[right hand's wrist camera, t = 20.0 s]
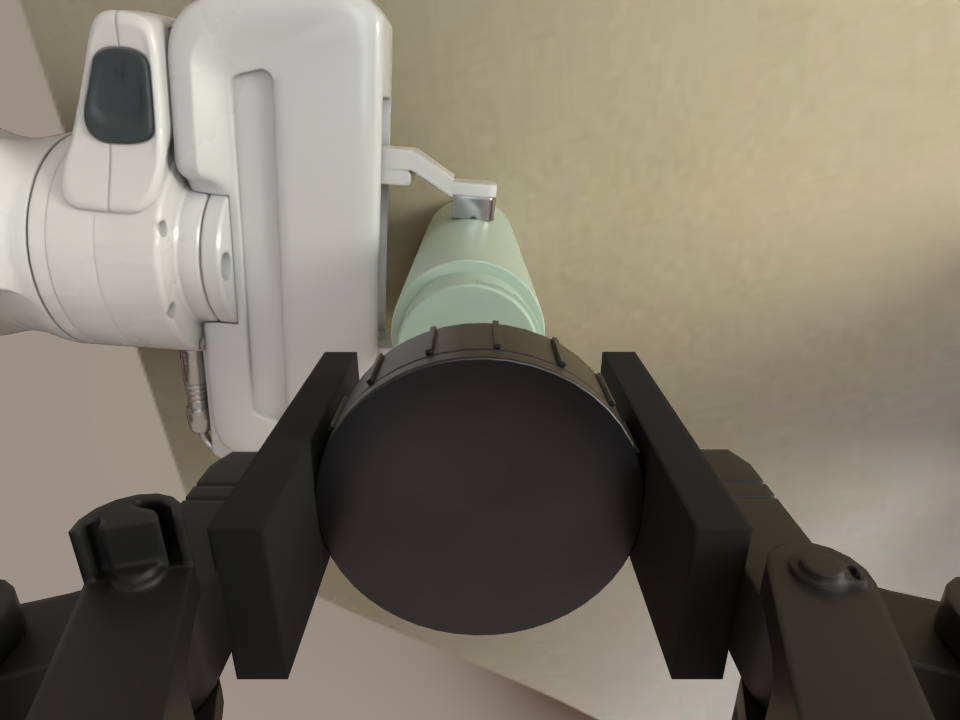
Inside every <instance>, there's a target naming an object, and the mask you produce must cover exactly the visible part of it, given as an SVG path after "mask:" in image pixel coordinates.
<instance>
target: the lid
mask: <svg viewBox="0 0 960 720" xmlns="http://www.w3.org/2000/svg"><path fill="white" fill-rule="evenodd" d="M615 405H616V403H615V401H614V399H613V397H612V395H611V393H610V390H609V388H608V386H607V384H606V382H605V380H604V378H603V376H602V375H601V374H600V373H598V374H597V375H596V374H595V373H594V372H593V370H592V369H591V368H590V367H589V366H588V365H587V364H586V363H584V362H583V361H582V360H581V359H580V358H579V357H578V356H577V355H575V354H574V353H572V352H571V351H570V350H568V349H567V348H565V347H564V346H562V345H561V344H560V343H559V341H558V339H557V338H555V337H553V338H552V339H549V338H547V337H545V336H543V335H540V334H537V333H534V332H532V331H529V330H526V329H522V328H518V327H513V326H509V325H502V324H499V321H496V320H493V323H466V324H458V325H452V326H446V327H442V328H438V329H437V328H436V326H433V327H430V331H428V332H425V333H422V334H420V335H418V336H415V337H413V338H411V339H409V340H406V341H405V342H403V343H401V344H400V345H398V346H396V347H395V348H393V349H391V350H390V351H389V352H387V353H386V354H385V355H383V354H382V353H380V354H379V355H377V357H376V360H375V362H374V364H373V365H372V366H371V367H370V368H369V369H368V371H367V372H366V373H365V374H364V375H363V376H362V377H361V379H360V380H359V382H358V383H357V384H356V386H355V387H354V389H353V390H352V392H351V394H350V396H349V397H347V396H344V398H343V400H342V402H341V404H340V406H339V408H338V410H337V412H336V414H335V416H334V418H333V420H332V422H331V424H330V426H329V428H328V430H330V431H332V434H331V436H330V438H329V440H328V442H327V444H326V446H325V448H324V451H323V454H322V457H321V460H320V463H319V466H318V470H317V477H316V483H315V499H316V508H317V516H318V524H319V528H320V531H321V534H322V537H323V541H324V543H325V545H326V547H327V549H328V551H329V553H330V555H331V557H332V559H333V560H334V562H335V563H336V565H337V566H338V567H339V569H340V570H341V572H342V573H343V574H344V575H345V577H346V578H347V579H348V580H349V581H350V582H351V583H352V584H353V586H354V587H356V588H357V589H358V590H359V591H360V592H361V593H362V594H364V595H365V596H366V597H367V598H368V599H370V600H371V601H372V602H374V603H375V604H377V605H378V606H380V607H381V608H383V609H384V610H386V611H388V612H390V613H392V614H394V615H396V616H397V617H399V618H402V619H404V620H407V621H409V622H411V623H414V624H416V625H419V626H423V627H426V628H430V629H433V630H437V631H443V632H449V633H454V634H466V635H496V634H504V633H512V632H517V631H522V630H526V629H530V628H534V627H537V626H540V625H543V624H546V623H549V622H551V621H554V620H556V619H558V618H560V617H562V616H564V615H566V614H569V613H570V612H572V611H573V610H575V609H577V608H578V607H580V606H582V605H583V604H585V603H586V602H587V601H589V600H590V599H591V598H593V597H594V596H595V595H596V594H598V593H599V592H600V591H601V590H602V589H603V588H604V587H605V586H606V585H607V584H608V583H609V582H610V581H611V580H612V579H613V578H614V576H615V575H616V574H617V573H618V571H619V570H620V569H621V567H622V566H623V565H624V563H625V561H626V560H627V558H628V556H629V554H630V553H631V551H632V549H633V547H634V544H635V542H636V539H637V537H638V534H639V532H640V527H641V521H642V514H643V505H644V496H645V486H644V476H643V472H642V467H641V463H640V459H639V457H641V454H640V451H639V449H638V447H637V445H636V443H635V441H634V439H633V437H632V434H631V432H630V430H629V428H628V426H627V424H626V422H625V420H623V421H622V419H621V417H620V414H619V412H618V410H617V408H616V406H615Z"/></svg>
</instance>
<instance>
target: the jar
mask: <svg viewBox="0 0 960 720" xmlns="http://www.w3.org/2000/svg"><path fill="white" fill-rule="evenodd" d="M452 205H453V201H451V202H449V203H447V204H446V205H444V206H443V207H441V208H440V209H439V210H438V211H437V212H436V213H435V215H434V216H433V217H432V219H431V221H430V223H429V225H428V227H427V230H426V232H425V235H424V237H423V240H422V242H421V245H420V247H419V250H418V252H417V255H416V257H415V260H414V262H413V265H412V267H411V269H410V272H409V274H408V277H407V279H406V282H405V284H404V287H403V289H402V292H401V294H400V297H399V299H398V302H397V304H396V307H395V310H394V313H393V317H392V323H391V340H392V347H393V348H395V347H396V346H398V345H400V344H401V343H403V342H405V341H406V340H409V339H411V338H413V337H415V336H418V335H420V334H422V333H425V332H428V331H430V327H433V326H436V328H437V329H438V328H442V327H446V326H452V325H458V324H466V323H493V320H496V321H499V324H502V325H509V326H513V327H518V328H522V329H526V330H529V331H532V332H534V333H537V334H540V335H543V336H545V324H544V318H543V314H542V311H541V307H540V305H539V302H538V299H537V296H536V293H535V291H534V288H533V285H532V282H531V280H530V277H529V274H528V271H527V269H526V266H525V263H524V260H523V257H522V255H521V252H520V249H519V246H518V244H517V241H516V238H515V235H514V233H513V230H512V227H511V225H510V223H509V220H508V219H507V217H506V216H505V215H504V213H503V212H502V211H501V210H500V209H499V208H498V207H496V206H495V213H494V221H481V220H477V219H476V218H475V217H474V216H473V217H471V218H470V219H455V218H452Z"/></svg>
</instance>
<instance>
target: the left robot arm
mask: <svg viewBox="0 0 960 720" xmlns="http://www.w3.org/2000/svg"><path fill="white" fill-rule="evenodd" d="M392 40H393V32H392V26H391V24H390V22H389V21H388V19H387V18H386V16H385V15H384V13H383V12H382V11H381V9H380V8H379V7H378V6H377V5H376V4H375V3H374V2H373V1H372V0H195V1H193V2H192V3H190V4H189V5H187V6H186V7H185V8H184V9H183V10H182V11H181V12H180V14H179V15H178V16H177V18H176V19H175V18H172V17H168V16H165V15H161V14H156V13H150V12H143V11H134V10H107V11H103V12H101V13H99V14H98V15H97V16H96V18H95V19H94V21H93V23H92V26H91V29H90V33H89V38H88V44H87V51H86V58H85V65H84V71H83V78H82V84H81V90H80V96H79V102H78V107H77V112H76V117H75V122H74V127H73V131H72V132H70V133H64V134H59V135H54V136H49V137H42V138H29V137H24V136H20V135H17V134H13V133H11V132H9V131H6V130H3V129H1V128H0V335H7V334H13V333H17V332H21V331H28V330H38V331H44V332H48V333H51V334H53V335H56V336H59V337H61V338H64V339H67V340H71V341H75V342H81V343H91V344H105V345H118V346H132V347H148V348H161V349H175V350H180V359H181V367H182V375H183V380H184V384H185V387H186V392H187V397H188V398H187V399H188V405H187V419H188V423H189V426H190V429H191V431H192V432H194V433H198V434H199V436H200V438H201V440H202V441H203V443H204V444H205V445H206V446H207V447H208V448H209V449H210V450H211V451H213V453H214V454H215V455H216V456H218V457H220V458H223V457H225V456H226V455H228V454H229V453H231V452H258V451H259V449H260V448H261V446H262V445H263V443H264V442H265V440H266V439H267V437H268V436H269V434H270V433H271V431H272V430H273V428H274V427H275V425H276V424H277V422H278V421H279V420H280V418H281V417H282V415H283V414H284V412H285V411H286V409H287V408H288V406H289V405H290V403H291V402H292V400H293V399H294V397H295V396H296V394H297V393H298V391H299V390H300V388H301V387H302V385H303V384H304V382H305V381H306V379H307V378H308V376H309V375H310V373H311V372H312V370H313V369H314V367H315V366H316V364H317V363H318V361H319V360H320V358H321V357H322V355H323V354H324V352H357V357H358V369H359V380H360V379H361V377H362V376H363V375H364V374H365V373H366V372H367V371H368V369H369V368H370V367H371V366H372V365H373V364H374V362H375V360H376V357H377V355H379V354H380V353H382V354H383V355H385V354H386V353H387V352H389V351H390V350H391V349H393V347H392V340H391V332H385V329H386V288H387V247H388V206H389V185H402V186H408V185H409V184H410V183H411V182H412V181H413V180H414V179H415V174H417V175H418V176H420V177H421V178H423V179H424V180H426V181H427V182H429V183H430V184H432V185H433V186H435V187H436V188H438V189H439V190H440V191H442V192H443V193H445V194H446V195H448V196H449V197H451V198H452V196H453V205H452V218H455V219H470V218H471V217H473V216H474V217H475V218H476V219H477V220H481V221H494V213H495V204H496V193H497V183H496V182H492V181H485V180H473V179H462V178H455V175H454V174H453V173H451V172H450V171H449V170H447V169H446V168H444V167H443V166H442V165H440V164H439V163H437V162H436V161H435V160H433V159H432V158H430V157H429V156H428V155H426V154H425V153H423V152H422V151H421V150H419V149H418V148H415V147H403V146H391V145H390V124H391V83H392ZM210 430H211V437H210V436H209V434H208V431H210Z"/></svg>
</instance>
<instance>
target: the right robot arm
mask: <svg viewBox="0 0 960 720" xmlns="http://www.w3.org/2000/svg"><path fill="white" fill-rule="evenodd" d="M601 375H602V376H603V378H604V380H605V382H606V384H607V386H608V388H609V390H610V393H611V395H612V397H613V399H614V401H615V403H616V405H615V406H616V408H617V410H618V412H619V414H620V417H621V419H622V421H623V420H625V422H626V424H627V426H628V428H629V430H630V432H631V434H632V437H633V439H634V441H635V443H636V445H637V447H638V449H639V451H640V454H641V457H639V459H640V463H641V467H642V472H643V476H644V486H645V496H644V505H643V514H642V521H641V527H640V532H639V534H638V537H637V539H636V542H635V544H634V547H633V549H632V551H631V553H630V554H629V556H630V559H631V562H632V565H633V568H634V570H635V573H636V576H637V579H638V582H639V585H640V588H641V591H642V594H643V597H644V600H645V602H646V605H647V608H648V611H649V614H650V617H651V620H652V623H653V626H654V629H655V632H656V635H657V637H658V640H659V643H660V646H661V649H662V652H663V655H664V658H665V661H666V664H667V667H668V669H669V672H670V675H671V678H672V679H723V674H724V669H725V664H726V659H727V654H728V650H729V652H730V654H731V656H732V658H733V660H734V662H735V664H736V666H737V669H738V671H739V673H740V675H741V679H740V684H739V688H738V693H737V697H736V702H735V706H734V711H733V716H732V720H960V577H956V578H954V579H953V580H952V581H950V582H949V583H948V584H947V585H946V587H945V590H944V593H943V596H942V598H941V601H935V600H930V599H926V598H921V597H916V596H912V595H907V594H903V593H898V592H893V591H889V590H885V589H882V588H878V587H877V585H876V583H875V581H874V580H873V579H872V577H871V576H870V574H869V573H868V572H867V570H866V569H864V568H863V567H862V566H861V565H859V564H858V563H857V562H855V561H854V560H853V559H851V558H850V557H848V556H846V555H844V554H842V553H840V552H838V551H836V550H834V549H831V548H828V547H825V546H821V545H817V544H814V543H812V542H811V541H810V540H809V539H808V537H807V536H806V535H805V534H804V532H803V531H802V530H801V528H800V527H799V526H798V525H797V523H796V522H795V521H794V520H793V518H792V517H791V516H790V514H789V513H788V512H787V511H786V509H785V508H784V507H783V506H782V504H781V503H780V502H779V500H778V499H775V498H774V494H773V493H772V492H771V490H770V489H769V488H768V486H767V485H766V484H763V480H762V479H761V478H760V476H759V475H758V474H757V472H756V471H755V470H754V469H753V467H752V466H751V465H750V464H749V463H747V462H746V461H744V460H743V459H741V458H740V457H738V456H737V455H735V454H734V453H732V452H731V451H729V450H700V448H699V447H698V445H697V444H696V443H695V441H694V440H693V438H692V437H691V435H690V434H689V432H688V431H687V429H686V428H685V426H684V425H683V423H682V422H681V420H680V419H679V417H678V416H677V414H676V413H675V411H674V410H673V408H672V407H671V405H670V404H669V402H668V401H667V399H666V398H665V396H664V395H663V393H662V392H661V390H660V389H659V387H658V386H657V384H656V383H655V381H654V380H653V378H652V377H651V375H650V374H649V372H648V371H647V369H646V368H645V366H644V365H643V363H642V362H641V360H640V359H639V357H638V356H637V354H636V353H635V352H602V364H601ZM358 382H359V369H358V357H357V352H324V354H323V355H322V357H321V358H320V360H319V361H318V363H317V364H316V366H315V367H314V369H313V370H312V372H311V373H310V375H309V376H308V378H307V379H306V381H305V382H304V384H303V385H302V387H301V388H300V390H299V391H298V393H297V394H296V396H295V397H294V399H293V400H292V402H291V403H290V405H289V406H288V408H287V409H286V411H285V412H284V414H283V415H282V417H281V418H280V420H279V421H278V422H277V424H276V425H275V427H274V428H273V430H272V431H271V433H270V434H269V436H268V437H267V439H266V440H265V442H264V443H263V445H262V446H261V448H260V449H259V451H258V452H231V453H229V454H228V455H226V456H225V457H223V458H222V459H220V460H219V461H217V462H215V463H214V464H212V465H211V466H210V467H209V468H208V469H207V471H206V472H205V473H204V474H203V476H202V477H201V478H200V480H199V481H198V482H197V486H194V487H193V489H192V490H191V491H190V492H189V494H188V495H187V496H186V501H182V503H180V502H178V501H177V500H176V499H175V498H173V497H171V496H166V495H161V494H140V495H134V496H130V497H126V498H122V499H118V500H115V501H112V502H110V503H108V504H105V505H103V506H101V507H98V508H96V509H94V510H93V511H91V512H90V513H88V514H87V515H85V516H84V517H82V518H81V519H79V520H78V522H77V523H76V524H75V525H74V526H73V527H72V529H71V530H70V531H69V536H70V539H71V542H72V546H73V549H74V552H75V555H76V559H77V562H78V565H79V568H80V572H81V575H82V578H83V581H84V586H83V588H82V590H80V591H77V592H73V593H70V594H65V595H60V596H56V597H51V598H46V599H42V600H37V601H33V602H28V603H23V604H20V603H19V600H18V597H17V594H16V591H15V589H14V587H13V586H12V585H10V584H9V583H8V582H6V581H5V580H0V720H222V714H223V705H224V701H223V694H222V688H221V684H220V679H219V677H220V675H221V673H222V671H223V669H224V667H225V664H226V662H227V660H228V658H229V656H230V654H231V652H232V656H233V661H234V666H235V671H236V676H237V679H288V677H289V674H290V671H291V668H292V665H293V662H294V659H295V657H296V654H297V651H298V648H299V645H300V642H301V639H302V636H303V633H304V631H305V627H306V625H307V622H308V619H309V616H310V613H311V610H312V607H313V604H314V601H315V598H316V596H317V593H318V590H319V587H320V584H321V581H322V578H323V575H324V572H325V569H326V566H327V564H328V561H329V558H330V553H329V551H328V549H327V547H326V545H325V543H324V541H323V537H322V534H321V531H320V528H319V524H318V516H317V508H316V499H315V483H316V477H317V470H318V466H319V463H320V460H321V457H322V454H323V451H324V448H325V446H326V444H327V442H328V440H329V438H330V436H331V434H332V431H330V430H328V428H329V426H330V424H331V422H332V420H333V418H334V416H335V414H336V412H337V410H338V408H339V406H340V404H341V402H342V400H343V398H344V396H347V397H349V396H350V394H351V392H352V390H353V389H354V387H355V386H356V384H357V383H358Z"/></svg>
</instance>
